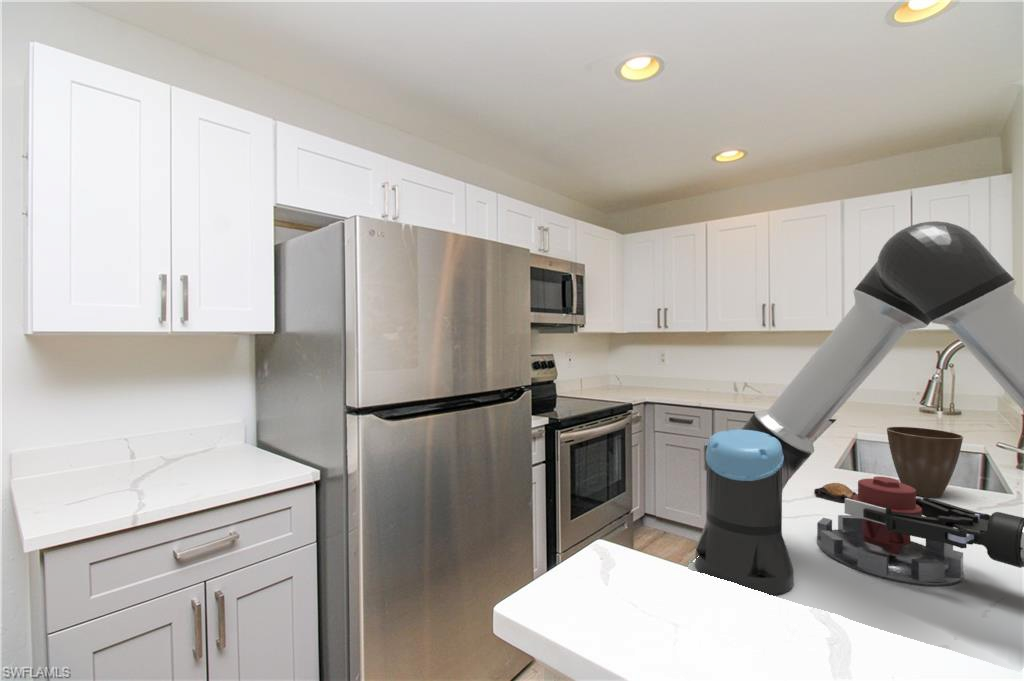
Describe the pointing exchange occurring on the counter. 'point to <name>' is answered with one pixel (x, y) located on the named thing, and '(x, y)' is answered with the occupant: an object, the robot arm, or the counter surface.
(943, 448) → the plant pot
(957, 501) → the counter surface
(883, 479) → the mechanical component
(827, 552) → the castellated collar
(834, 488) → the bread roll
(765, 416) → the robot arm
